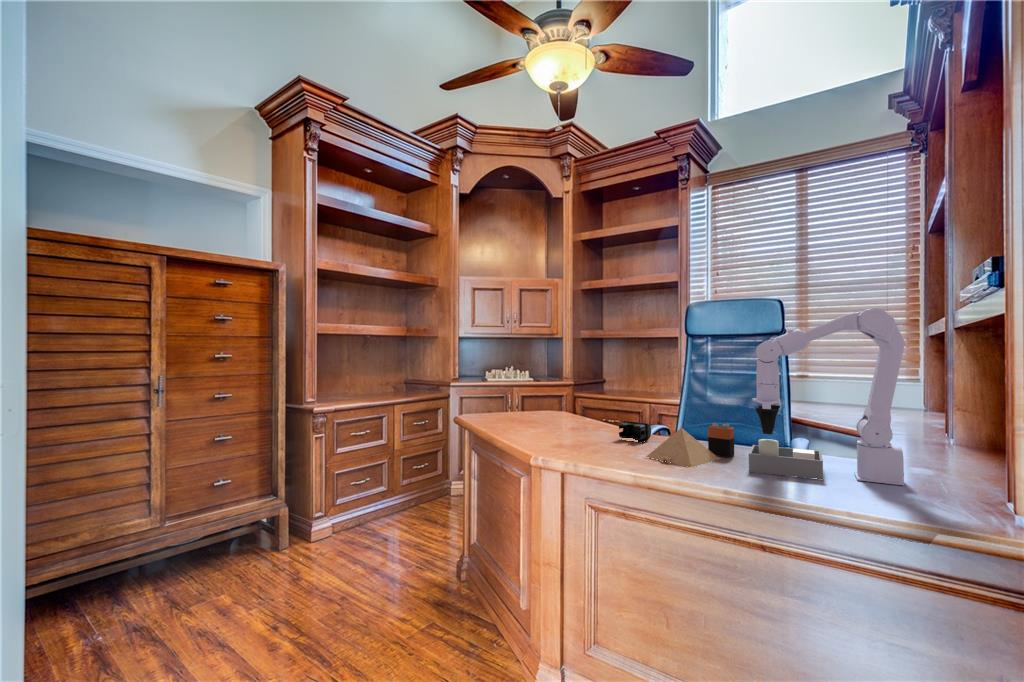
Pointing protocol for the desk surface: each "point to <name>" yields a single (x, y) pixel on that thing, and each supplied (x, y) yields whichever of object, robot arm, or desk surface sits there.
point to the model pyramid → (683, 450)
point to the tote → (785, 463)
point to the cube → (803, 454)
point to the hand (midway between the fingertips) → (768, 431)
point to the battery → (721, 440)
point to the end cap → (635, 430)
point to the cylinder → (769, 447)
